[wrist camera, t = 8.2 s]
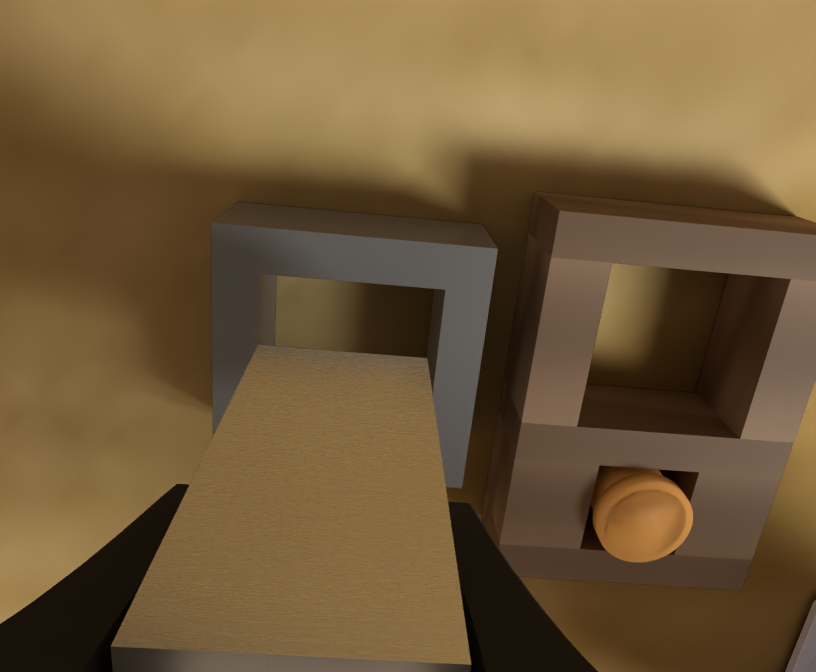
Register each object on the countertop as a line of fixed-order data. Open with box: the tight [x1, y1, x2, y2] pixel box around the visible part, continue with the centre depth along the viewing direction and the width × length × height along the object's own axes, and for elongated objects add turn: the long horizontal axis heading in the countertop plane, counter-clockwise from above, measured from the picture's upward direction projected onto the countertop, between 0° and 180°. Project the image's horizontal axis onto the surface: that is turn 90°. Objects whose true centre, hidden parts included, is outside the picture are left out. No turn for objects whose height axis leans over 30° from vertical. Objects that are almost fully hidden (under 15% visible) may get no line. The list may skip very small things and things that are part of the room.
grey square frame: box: [211, 202, 498, 488], centre depth 19 cm, size 7×7×3 cm
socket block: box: [481, 192, 816, 590], centre depth 20 cm, size 11×8×3 cm
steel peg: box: [111, 345, 471, 672], centre depth 11 cm, size 4×4×8 cm
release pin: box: [590, 465, 693, 562], centre depth 21 cm, size 3×3×3 cm
